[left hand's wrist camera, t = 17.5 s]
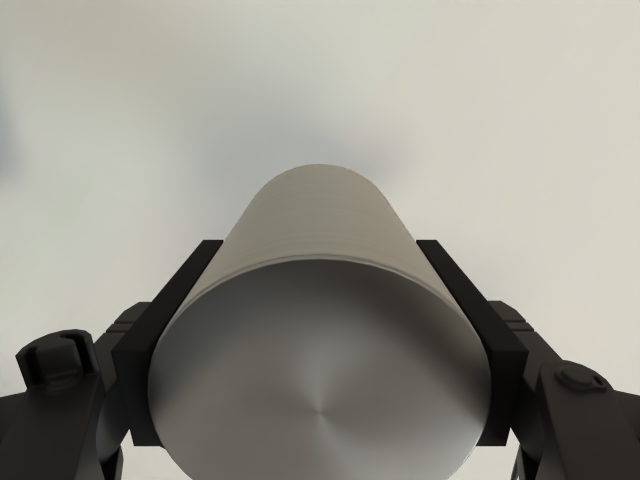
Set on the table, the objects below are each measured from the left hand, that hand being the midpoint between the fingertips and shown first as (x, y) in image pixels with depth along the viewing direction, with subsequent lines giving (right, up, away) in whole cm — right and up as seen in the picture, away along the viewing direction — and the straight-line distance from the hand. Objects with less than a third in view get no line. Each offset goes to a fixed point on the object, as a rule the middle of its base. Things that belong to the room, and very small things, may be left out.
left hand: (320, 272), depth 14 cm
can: (0, +1, +3) cm, 3 cm away
